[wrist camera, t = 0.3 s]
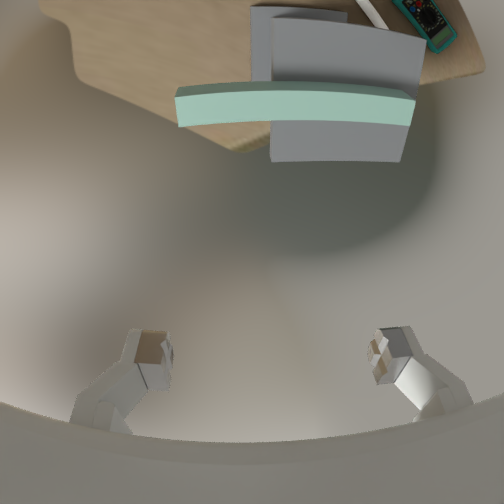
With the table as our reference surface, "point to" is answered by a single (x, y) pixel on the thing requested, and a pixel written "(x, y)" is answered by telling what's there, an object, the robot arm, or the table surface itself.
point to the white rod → (372, 14)
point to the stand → (333, 78)
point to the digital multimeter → (428, 22)
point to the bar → (291, 103)
